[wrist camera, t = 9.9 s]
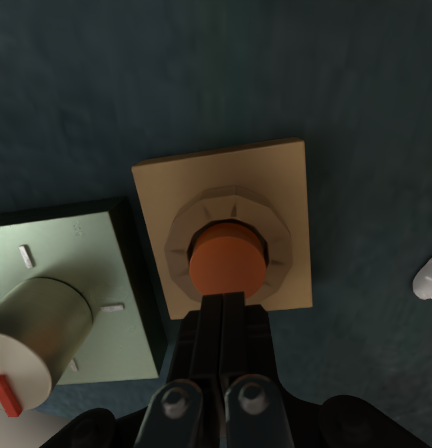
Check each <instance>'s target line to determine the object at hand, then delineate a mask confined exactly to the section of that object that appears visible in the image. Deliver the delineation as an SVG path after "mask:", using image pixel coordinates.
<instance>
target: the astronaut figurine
mask: <svg viewBox="0 0 432 448" xmlns="http://www.w3.org/2000/svg"><path fill="white" fill-rule="evenodd" d="M413 291H414V293H415V294H416V295H417V296H418V297H419V298H421V299H428V298H431V299H432V258H431V259H430V260H429V261H428V262H427V264H426V265H425V266H424V267H423V268H422V269H421V270H420V271H419V272H418V273H417V275H416V276H415V278H414V280H413Z"/></svg>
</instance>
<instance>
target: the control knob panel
mask: <svg viewBox="0 0 432 448" xmlns="http://www.w3.org/2000/svg"><path fill="white" fill-rule="evenodd" d="M35 278H47V279H53V280H56V281H59V282H62V283H64V284H66V285H68V286H70V287H71V288H73V289H74V290H75V291H76V292H78V293H79V294H80V295H81V296H82V297H83V299H84V300H85V301H86V303H87V304H88V306H89V308H90V311H91V314H92V327H91V330H90V333H89V334H88V336H87V337H86V339H85V341H84V342H83V344H82V345H81V347H80V348H79V350H78V352H77V353H76V355H75V356H74V358H73V359H72V361H71V362H70V364H69V366H68V367H67V369H66V370H65V372H64V373H63V375H62V376H61V378H60V380H59V381H58V383H57V384H56V385H62V384H77V383H91V382H105V381H120V380H134V379H149V378H159V375H160V371H161V368H162V364H163V360H164V357H165V353H166V350H167V346H168V344H167V340H166V336H165V333H164V329H163V326H162V322H161V318H160V315H159V311H158V307H157V304H156V300H155V296H154V293H153V289H152V285H151V282H150V278H149V275H148V271H147V267H146V264H145V260H144V256H143V253H142V249H141V245H140V242H139V238H138V235H137V231H136V227H135V224H134V220H133V216H132V213H131V209H130V205H129V202H128V198H127V196H122V197H115V198H108V199H101V200H94V201H87V202H80V203H73V204H66V205H59V206H51V207H44V208H37V209H30V210H23V211H16V212H9V213H2V214H0V299H2V298H3V297H4V296H5V295H6V294H8V293H9V292H10V291H11V290H13V289H14V288H15V287H16V286H17V285H19V284H20V283H22V282H24V281H26V280H30V279H35Z"/></svg>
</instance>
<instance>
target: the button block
mask: <svg viewBox="0 0 432 448" xmlns="http://www.w3.org/2000/svg"><path fill="white" fill-rule="evenodd" d="M131 169H132V173H133V177H134V180H135V184H136V188H137V192H138V196H139V200H140V203H141V207H142V211H143V215H144V219H145V223H146V227H147V230H148V234H149V238H150V242H151V246H152V250H153V253H154V257H155V261H156V265H157V269H158V273H159V277H160V280H161V284H162V288H163V292H164V296H165V300H166V303H167V307H168V311H169V315H170V319H171V320H173V319H184V317H185V316H186V315H187V313H188V312H189V311H192V310H200V307H201V302H202V296H203V294H201V293H200V292H199V291H198V290H197V289H196V287H195V286H194V284H193V282H192V280H191V277H190V272H189V265H190V260H191V257H192V253H193V250H194V247H195V243H196V241H197V239H198V238H199V236H200V235H201V234H202V233H203V232H204V231H205V230H206V229H208V228H209V227H211V226H213V225H216V224H220V223H236V224H239V225H242V226H245V227H246V228H248V229H250V230H251V231H252V232H253V233H254V234H255V235H256V236H257V237H258V239H259V241H260V243H261V245H262V250H263V255H264V260H265V265H266V276H265V280H264V282H263V284H262V286H261V287H260V289H259V290H258V291H257V292H256V293H255V294H254V295H253V296H251V297H250V298H248V299H246V305H255V304H261V305H262V307H263V308H264V309H265V310H266V311H272V310H283V309H294V308H305V307H312V285H311V264H310V244H309V223H308V202H307V181H306V161H305V142H304V141H303V140H301V139H299V138H297V137H289V138H283V139H276V140H270V141H264V142H257V143H251V144H244V145H238V146H231V147H225V148H218V149H212V150H205V151H199V152H192V153H186V154H179V155H173V156H166V157H160V158H153V159H147V160H143V161H141V162H139V163H137V164H136V165H134V166H132V167H131Z"/></svg>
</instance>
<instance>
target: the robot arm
mask: <svg viewBox="0 0 432 448" xmlns="http://www.w3.org/2000/svg"><path fill="white" fill-rule="evenodd" d="M220 438H227V448H431V447H430V446H428V445H427V444H426V443H424V442H423V441H421V440H420V439H419V438H417V437H416V436H414V435H413V434H412V433H410V432H409V431H407V430H406V429H405V428H403V427H402V426H400V425H399V424H398V423H396V422H395V421H393V420H392V419H391V418H389V417H388V416H386V415H385V414H384V413H382V412H381V411H379V410H378V409H377V408H375V407H374V406H372V405H371V404H369V403H368V402H366V401H364V400H362V399H360V398H357V397H354V396H349V395H338V396H334V397H331V398H329V399H328V400H326V401H325V402H324V403H323V405H318V404H314V403H310V402H306V401H303V400H300V399H298V398H296V397H294V396H293V395H291V394H290V393H289V392H287V391H286V390H285V388H284V387H283V386H282V384H281V383H280V381H279V378H278V374H277V368H276V362H275V355H274V349H273V343H272V337H271V330H270V324H269V318H268V313H267V312H266V310H265V309H264V308H263V307H262V305H261V304H255V305H246V299H245V293H244V291H240V292H230V293H224V295H223V293H220V294H210V295H203V296H202V302H201V307H200V310H192V311H189V312H188V313H187V315H186V316H185V317H184V319H183V320H182V321H181V325H180V329H179V335H178V337H177V341H176V345H175V349H174V353H173V357H172V361H171V365H170V369H169V373H168V377H167V381H166V384H164V385H163V386H161V387H160V388H159V389H158V390H157V391H156V392H155V393H154V395H153V396H152V398H151V400H150V403H149V405H148V406H147V407H145V408H144V409H142V410H139V411H137V412H134V413H132V414H129V415H126V416H124V417H121V418H118V419H115V417H114V415H113V414H112V412H110V411H109V410H107V409H104V408H95V409H91V410H88V411H86V412H84V413H82V414H80V415H79V416H77V417H76V418H74V419H73V420H72V421H71V422H70V423H68V424H67V425H66V426H65V427H63V428H62V429H61V430H60V431H59V432H58V433H56V434H55V435H54V436H53V437H51V438H50V439H49V440H48V441H47V442H45V443H44V444H43V445H42V446H40V447H39V448H219V447H220Z"/></svg>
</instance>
